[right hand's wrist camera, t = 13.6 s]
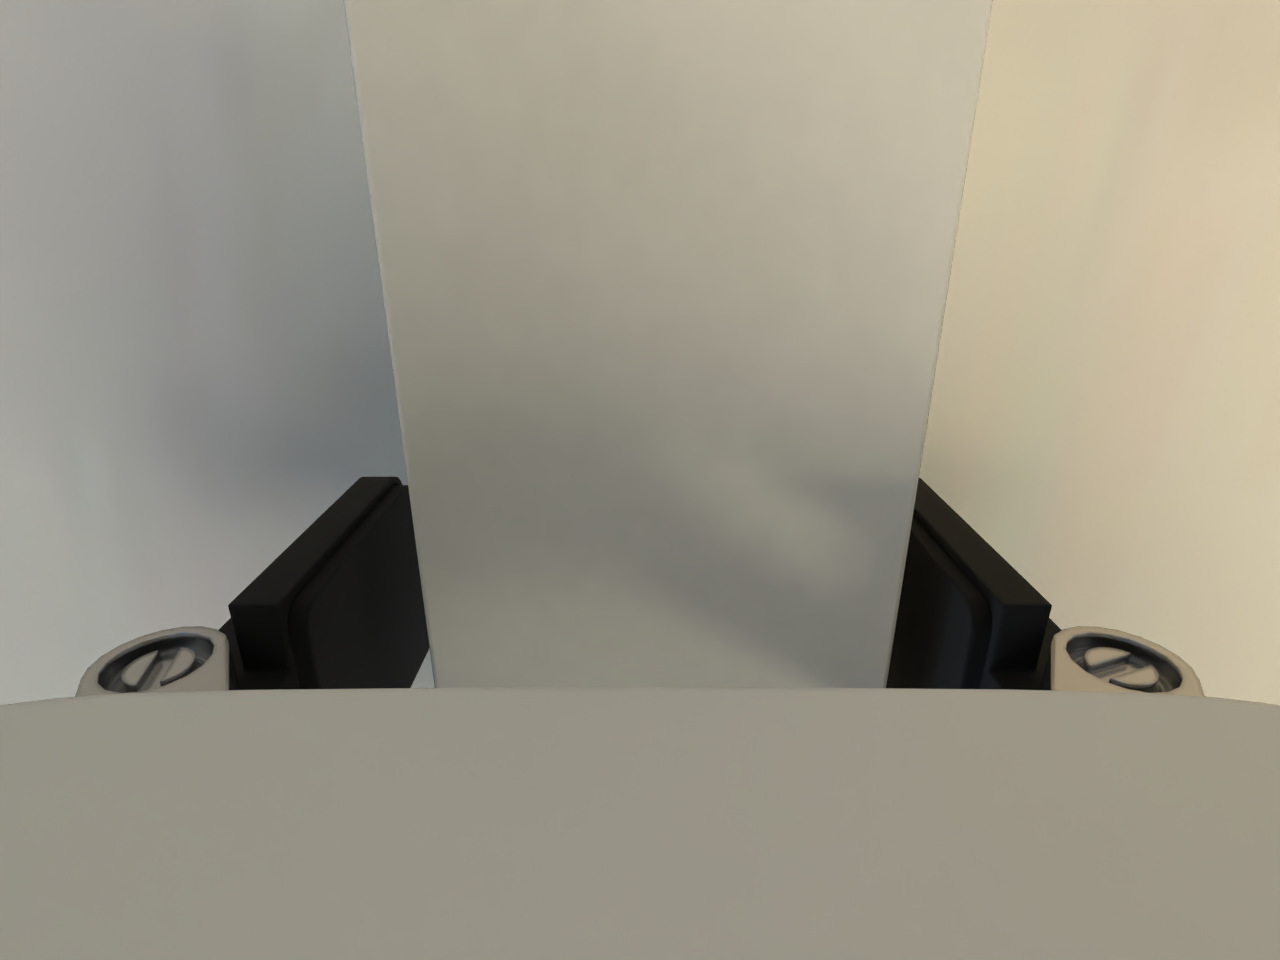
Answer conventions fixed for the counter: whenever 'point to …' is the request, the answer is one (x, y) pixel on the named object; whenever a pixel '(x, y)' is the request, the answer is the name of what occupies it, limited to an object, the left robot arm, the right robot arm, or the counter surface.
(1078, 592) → the counter surface
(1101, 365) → the counter surface
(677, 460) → the beam
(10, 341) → the counter surface
